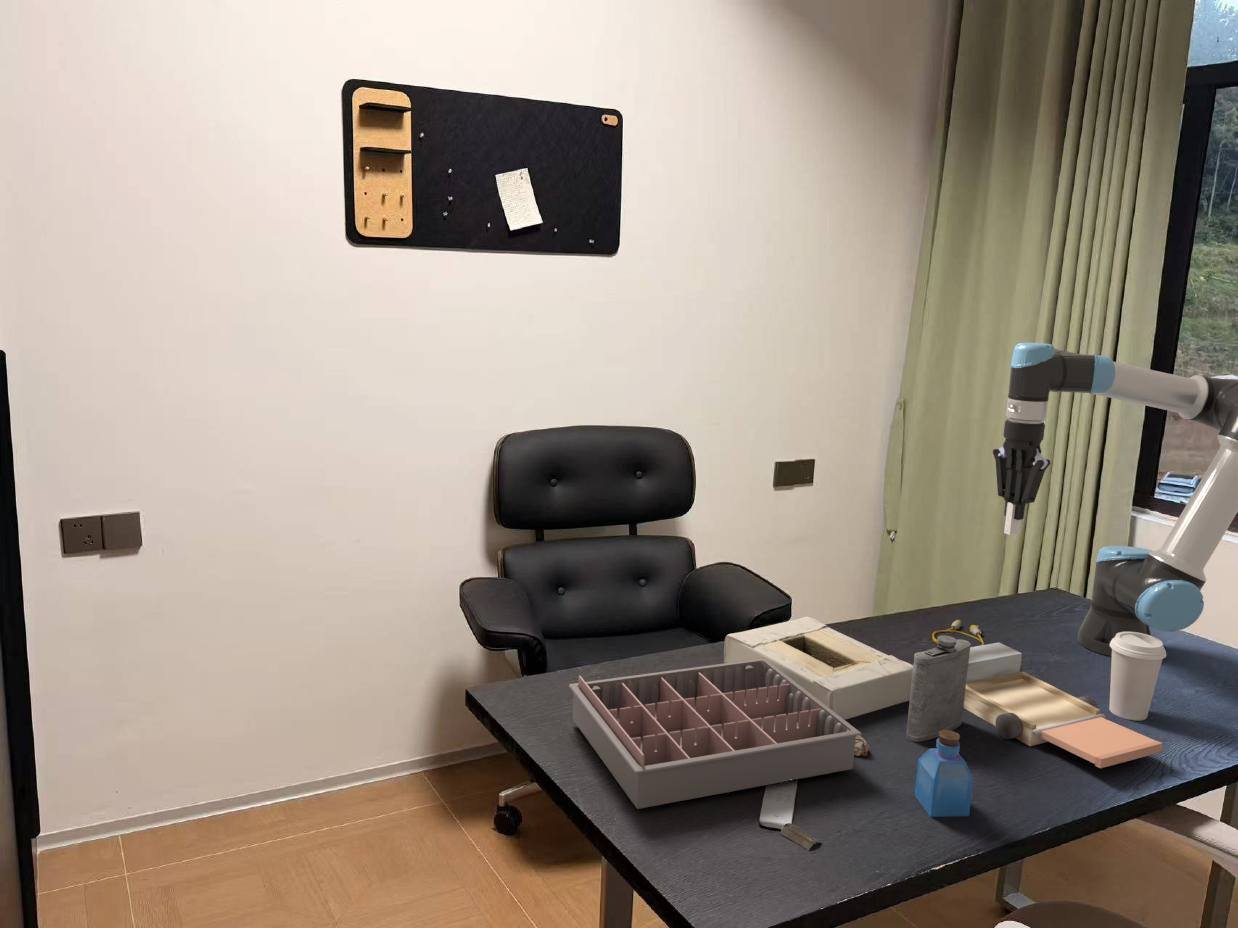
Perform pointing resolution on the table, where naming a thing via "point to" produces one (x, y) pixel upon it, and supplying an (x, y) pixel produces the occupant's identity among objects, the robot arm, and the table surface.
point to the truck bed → (1017, 695)
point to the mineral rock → (860, 746)
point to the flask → (938, 689)
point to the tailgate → (1099, 740)
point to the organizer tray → (709, 730)
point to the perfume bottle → (944, 778)
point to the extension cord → (956, 625)
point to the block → (799, 836)
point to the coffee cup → (1134, 673)
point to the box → (826, 665)
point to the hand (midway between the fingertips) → (1011, 533)
